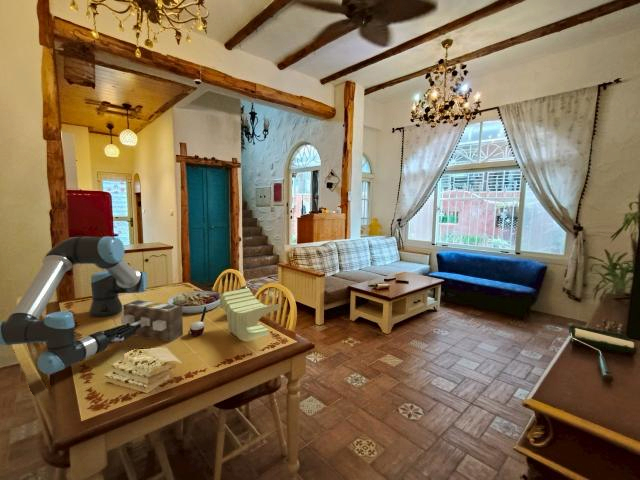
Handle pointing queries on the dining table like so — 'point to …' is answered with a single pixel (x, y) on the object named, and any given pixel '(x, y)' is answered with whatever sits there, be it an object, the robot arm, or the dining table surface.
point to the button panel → (157, 312)
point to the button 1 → (128, 319)
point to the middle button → (146, 320)
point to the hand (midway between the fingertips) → (144, 322)
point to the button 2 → (159, 325)
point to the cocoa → (197, 326)
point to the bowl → (195, 301)
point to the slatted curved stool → (245, 314)
